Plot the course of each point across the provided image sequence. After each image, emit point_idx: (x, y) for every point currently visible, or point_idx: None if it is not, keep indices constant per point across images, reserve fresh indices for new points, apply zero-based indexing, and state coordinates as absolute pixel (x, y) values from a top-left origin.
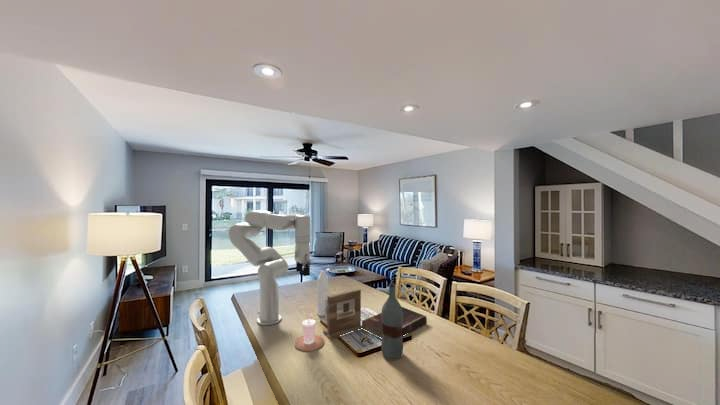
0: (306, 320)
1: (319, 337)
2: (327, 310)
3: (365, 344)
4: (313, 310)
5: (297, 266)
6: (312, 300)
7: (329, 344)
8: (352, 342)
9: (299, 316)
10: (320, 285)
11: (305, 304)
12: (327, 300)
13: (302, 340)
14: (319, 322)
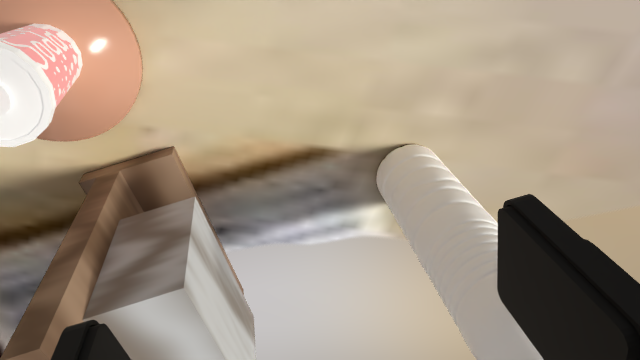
0: (30, 81)
1: (96, 122)
2: (79, 257)
3: (18, 304)
4: (480, 128)
5: (575, 295)
6: (617, 138)
7: (29, 160)
8: (43, 260)
9: (439, 36)
10: (468, 283)
11: (589, 92)
12: (51, 317)
13: (65, 17)
14: (309, 142)
